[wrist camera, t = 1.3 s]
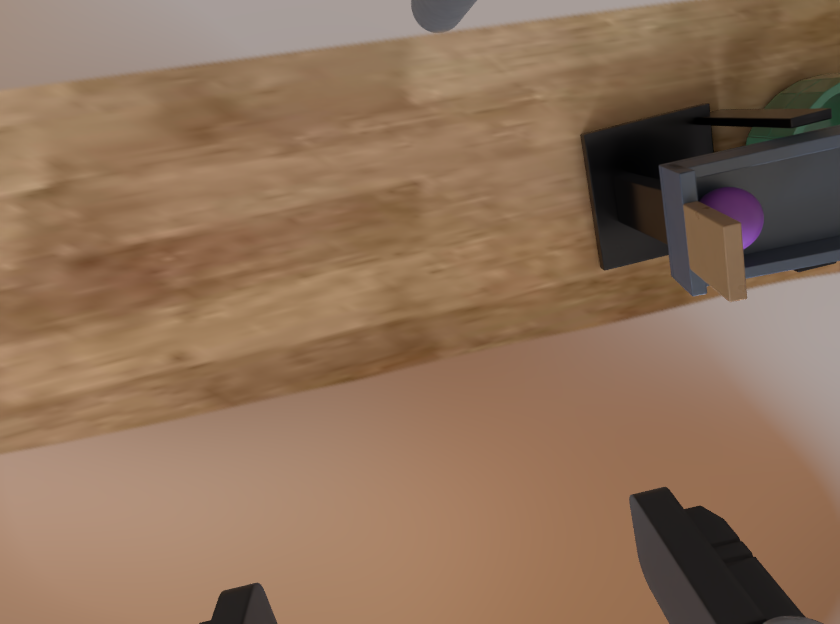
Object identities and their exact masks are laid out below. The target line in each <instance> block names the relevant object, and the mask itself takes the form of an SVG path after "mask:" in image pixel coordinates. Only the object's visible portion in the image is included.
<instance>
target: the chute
mask: <svg viewBox="0 0 840 624" xmlns="http://www.w3.org/2000/svg"><path fill="white" fill-rule="evenodd" d="M659 174H660V182H661V191H662V200H663V208H664V217H665V225H666V234H667V243H668V251H669V260H670V268H671V276H672V277H673V278H674V279H675V280H676V281H677V282H678V283H679V284H680V285H681V286H682V287H683V288H684V289H685V290H687V291H688V292H689V293H690V294H691V295H692V296H697V295H702V294H707V288H706V286H711V287H712V288H713V289H715V290H716V291H717V292H718V293H719V294H721V295H722V296H723V297H724V298H725V299H727V300H728V301H729V302H734V301H739V300H744V299H747V291H746V279H747V278H752V277H757V276H762V275H767V274H773V273H778V272H783V271H788V270H794V269H799V268H804V267H809V266H814V265H820V264H825V263H830V262H835V261H840V125H836V126H831V127H827V128H822V129H818V130H813V131H809V132H804V133H800V134H795V135H791V136H786V137H782V138H777V139H773V140H768V141H764V142H759V143H755V144H750V145H746V146H741V147H737V148H732V149H728V150H724V151H719V152H715V153H710V154H706V155H701V156H697V157H692V158H688V159H683V160H679V161H674V162H670V163H665V164H661V165H659ZM723 187H736V188H741V189H743V190H746V191H748V192H749V193H751V194H752V195H753V196H754V197H755V198H756V199H757V200H758V201H759V203H760V204H761V207H762V209H763V213H764V223H763V227H762V230H761V232H760V234H759V236H758V237H757V239H756V240H755V241H754V242H753V243H752V244H751V245H750V246H748V247H747V248H745V249H743V240H742V227H741V222H739V221H737V220H735V219H733V218H731V217H729V216H727V215H725V214H723V213H721V212H719V211H717V210H715V209H713V208H711V207H709V206H707V205H705V204H703V203H701V202H699V200H700V199H701V198H702V197H703V196H704V195H705V194H707V193H709V192H710V191H713V190H715V189H718V188H723Z"/></svg>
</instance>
